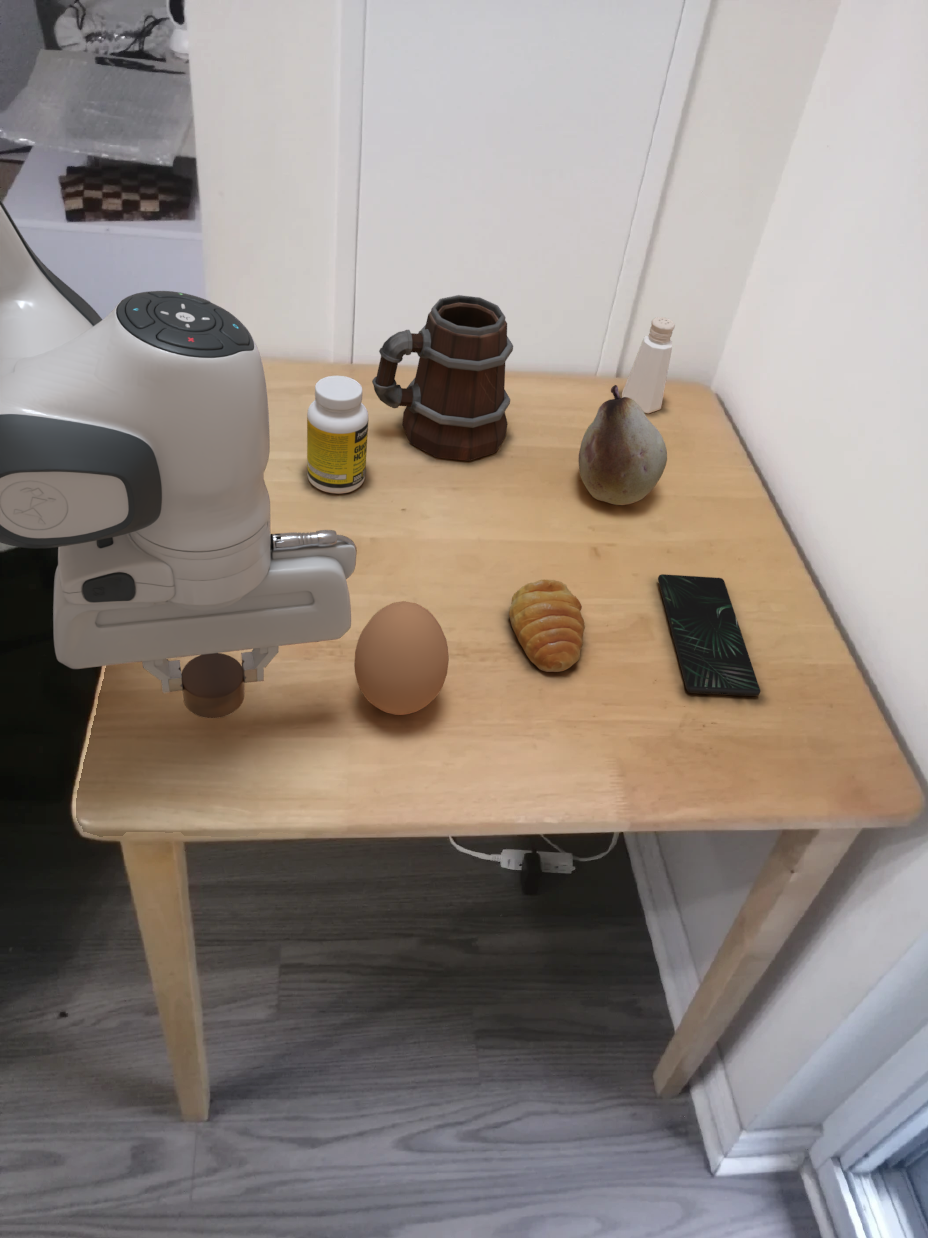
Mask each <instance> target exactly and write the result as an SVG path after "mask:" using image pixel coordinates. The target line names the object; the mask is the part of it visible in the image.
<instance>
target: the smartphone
mask: <svg viewBox="0 0 928 1238" xmlns="http://www.w3.org/2000/svg"><path fill="white" fill-rule="evenodd" d="M657 583H658V586H659V589H660V593H661V598H662V601H663V605H664V608H665V613H666V616H667V620H668V625H669V627H670V632H671V635H672V639H673V644H674V647H675V652H676V654H677V659H678V662H679V666H680V670H681V673H682V677H683V682H684V685H685V690H686V691H687V693H689V694H703V695H704V694H706V695H727V696H746V697H757V696H759V695H760V694H761V688H760V686H759V685H760V684H759V682H758V679H757V676H756V673H755V671H754V668H753V667H754V666H753V664H752V661H751V658H750V654H749V652H748V648H747V646H746V643H745V640H744V637H743V634H742V630H741V628H740V625H739V621H738V618H737V615H736V613H735V610H734V607H733V603H732V599H731V598H730V594H729V591H728V588H727V586H726V583H725V580H724V579H723V578H722V577H713V576H712V577H711V576H695V575H683V574H682V575H679V574H666V573H665V574H663V573H661V574H659V575H658V577H657Z"/></svg>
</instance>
